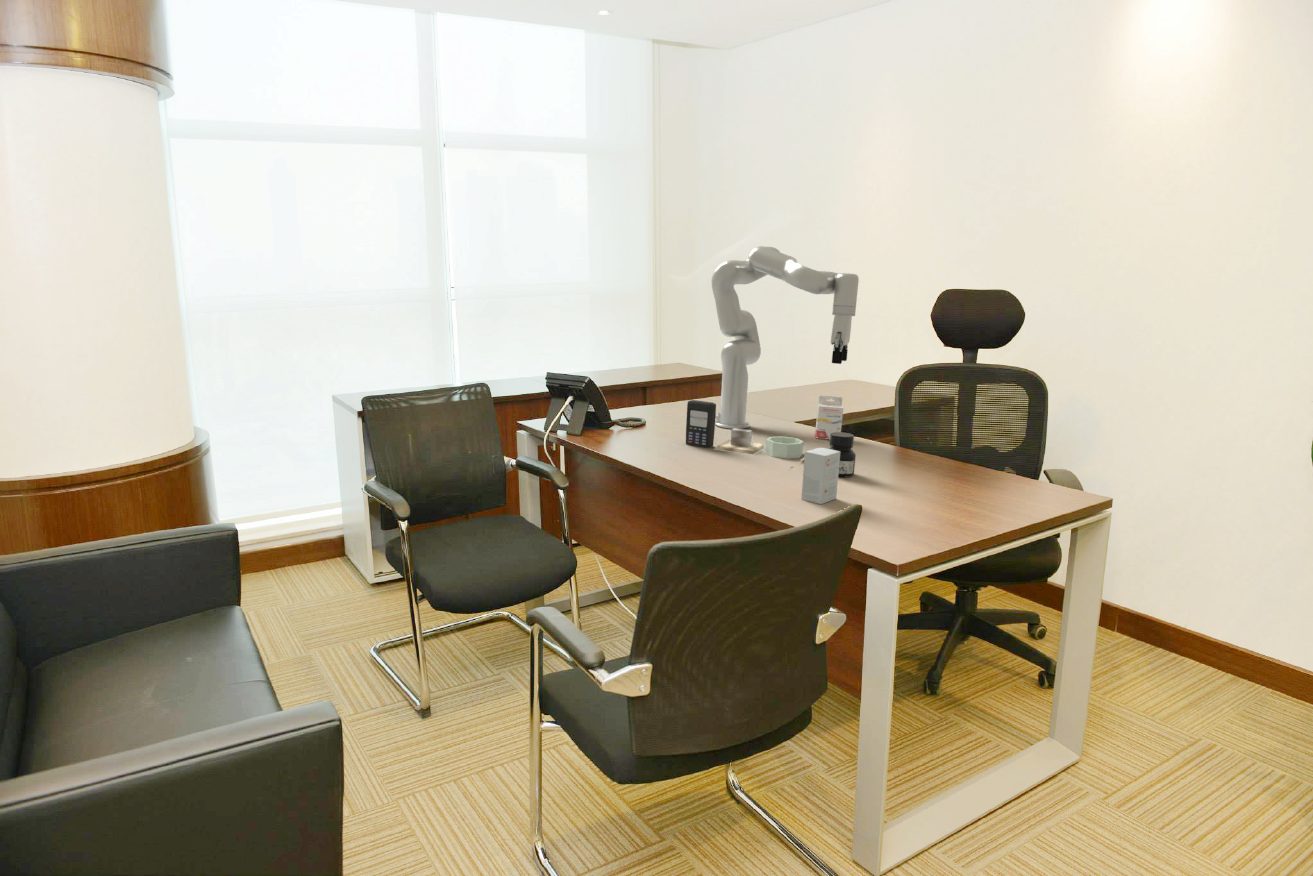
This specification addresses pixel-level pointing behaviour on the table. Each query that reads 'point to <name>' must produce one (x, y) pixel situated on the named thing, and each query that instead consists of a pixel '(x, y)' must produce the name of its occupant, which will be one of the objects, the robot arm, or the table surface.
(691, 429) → the card reader
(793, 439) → the bowl
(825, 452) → the small box
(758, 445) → the lid
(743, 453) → the mat
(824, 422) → the ink cartridge box
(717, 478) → the table surface
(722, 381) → the robot arm
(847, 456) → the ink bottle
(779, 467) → the table surface
